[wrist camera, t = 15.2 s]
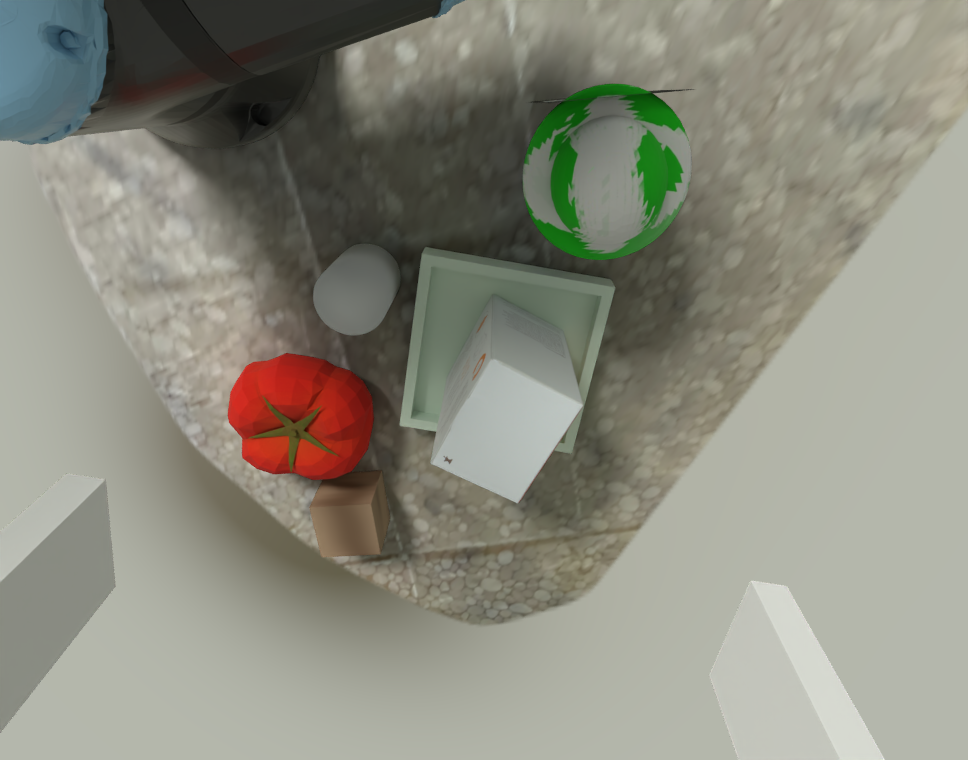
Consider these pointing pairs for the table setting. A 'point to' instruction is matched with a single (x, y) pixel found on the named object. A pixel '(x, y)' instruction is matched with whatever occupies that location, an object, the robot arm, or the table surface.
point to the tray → (461, 300)
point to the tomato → (301, 416)
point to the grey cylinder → (357, 289)
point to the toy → (607, 171)
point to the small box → (506, 401)
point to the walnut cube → (351, 514)
